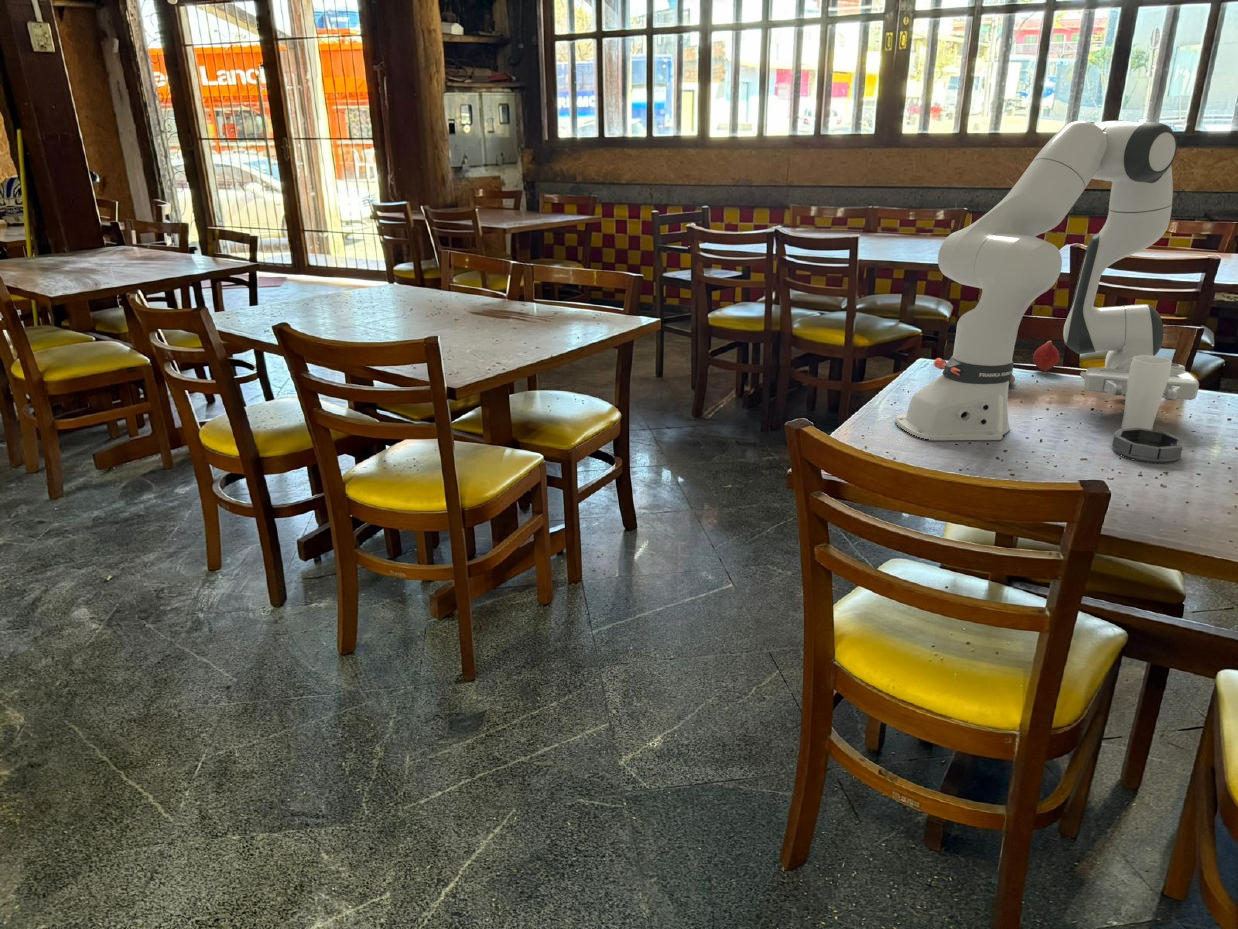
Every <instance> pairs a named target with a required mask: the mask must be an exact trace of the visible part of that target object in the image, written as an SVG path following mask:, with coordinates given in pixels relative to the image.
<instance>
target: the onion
mask: <svg viewBox="0 0 1238 929" xmlns="http://www.w3.org/2000/svg"><path fill="white" fill-rule="evenodd" d="M1032 360H1033V363H1034V365H1035V366H1036V367H1037V368H1038V369H1039V370H1040V371H1041V372H1043V371H1045V372H1048V371H1050V370H1051V369H1052V368H1054V367H1055V366H1056V365H1058V363H1059V361H1060V353H1059V350H1058V349H1057V348H1056V346H1055V345H1053V341H1052V340H1047V341H1046V342H1045V343H1044V344H1042V345H1041V346H1039V347H1038V348H1037V349H1036V350H1035V351H1034V353H1033V358H1032Z"/></svg>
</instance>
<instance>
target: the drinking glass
mask: <svg viewBox="0 0 1238 929" xmlns="http://www.w3.org/2000/svg"><path fill="white" fill-rule="evenodd" d="M1172 363H1173V361H1172V360H1171V359H1169V358H1166V357H1163V356H1160V355H1159V356H1157V355H1155V356H1150V355H1139V356H1134V357H1133V359H1132V362H1131V366H1130V370H1129V375H1128V382H1127V391H1126V397H1125V401H1124V409H1123V416H1122V421H1121V429H1129V428H1143V429H1149V430H1153V428H1154V424H1155V421H1156V417H1157V414H1158V412H1159V409H1160V405H1161V402H1162V400H1163V398H1162V397H1163V394H1164V391H1165V388H1166V385H1167V382H1168V379H1169V375H1170V370H1171V364H1172Z"/></svg>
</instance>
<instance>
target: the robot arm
mask: <svg viewBox="0 0 1238 929" xmlns="http://www.w3.org/2000/svg"><path fill="white" fill-rule="evenodd" d="M1177 151H1178V140H1177V137H1176V134H1175V133H1174V131H1173V129H1172V127H1171V126H1169V125H1168V124H1165V123H1161V122H1156V121H1146V122H1143V121H1134V120H1133V121H1129V120H1120V119H1119V120H1105V121H1098V122H1093V121H1087V120H1075V121H1072V122H1069V123H1067V124H1065V125H1064V126H1062V128H1061V129H1060V130H1058V131H1057V132H1056V133H1055V134H1054V135H1053V136H1052V137H1051V138H1050V139H1049V140H1048V141H1047V142H1046V144H1045V145H1044V146H1043V147H1042V148H1041V150H1040V151H1039V152H1038V153H1037V154H1036V156H1035V157H1034V159H1033V160H1032V161H1031V162H1030V164H1029V165H1028V166H1027V168H1026V169H1025V171H1024V172H1023V174H1022V175H1021V176H1020V178H1019V179H1018V181H1016V183H1015V184H1014V186H1013V187H1012V188H1011V189H1010V191H1008V193H1007V194H1006V195H1005V197H1003V199H1002V200H1000V201H999V202H998V203H997V204H996V205H995V206H993V208H992V209H990V210H989V211H988V212H987V213H985V214H984V215H982V216H981V217H980V218H979V219H977V220H976V221H975V222H973V223H971V224H970V225H968V226H966V227H964V228H962V229H960V230H957V231H954V232H952V233H950V234H949V235H948V236H947V237H946V238H945V239H944V240H943V241H942V243H941V246H940V247H939V250H938V254H937V264H938V268H939V271H940V272H941V274H943V275H944V277H947V278H948V279H950V280H952V281H953V282H956V283H958V284H959V285H964V286H968V287H972V288H978V289H982V291H981V295H980V298H979V301H978V302H977V305H976V306H975V308H973V309H971V310H968V311H967V312H965V313H964V314H962V315H961V316H960V317H959V319H958V321H957V323H956V332H955V336H954V337H955V339H954V346H953V354H952V356H951V355H950V358H949V360H948V361H947V360H944V359H942V358H940V357H937V358H935V360H933V366H934V368H937V369H939V370H942V374H941V375H939V376H938V377H937V378H935V379H934V380H933V381H932V382H929V383H928V384H927V385H925V386H924V387H923V388H921V389H920V390H918V391H916V392H915V393H914V394H913V395H912V397H911V398H910V401H909V404H908V409H907V412H906V413H903V414H898V415H896V417H895V420H894V422H895V421H896V423H897V424H896V423H895V424H896V426H897V425H899V426H900V427H901V428H903V429H904V430H905V431H908V432H909V433H910V434H909V433H908V434H909V435H911V434H912V435H911V436H913V435H916V436H917V437H916V436H915V437H916V438H918V437H920V438H919V439H921V438H925V439H929V440H928V441H1000V440H1002V439H1003V437H1004V436H1003V435H1005V434H1007V433H1008V432H1009V431H1010V423H1009V412H1008V411H1009V409H1008V405H1009V404H1008V400H1009V399H1008V398H1009V385H1010V384H1011V383H1010V381H1011V378H1012V375H1013V371H1014V360H1013V356H1014V351H1015V345H1016V342H1017V338H1016V336H1017V337H1018V330H1019V328H1020V327H1019V326H1020V324H1021V321H1022V320H1023V316H1024V315H1025V313H1026V311H1027V310H1028V308H1030V305H1031V304H1032V303H1034V300H1036V299H1037V298H1039V297H1040V296H1041V295H1044V293H1046V292H1048V291H1049V290H1050V289H1051V288H1053V286H1054V285H1055V283H1056V282H1057V281H1058V279H1059V277H1060V275H1061V272H1062V265H1063V260H1062V254H1061V251H1060V250H1059V248H1058V247H1057V246H1056V245H1055V244H1053V243H1051V242H1049V241H1046V240H1044V239H1042V238H1038V237H1037V236H1039V235H1041V234H1044V233H1047V232H1050V231H1052V229H1055V228H1056V227H1057V226H1058V225H1060V224H1061V223H1062V222H1063V220H1064V219H1065V218H1066V216H1067V215H1068V213H1069V212H1070V210H1072V207H1074V205H1075V204H1076V202H1077V201H1078V199H1079V198H1080V197H1081V195H1082V193H1083V192H1084V191H1085V189H1086V188H1087V186H1088V185H1089V183H1090V182H1091V180H1092V179H1093V180H1098V181H1099V180H1100V181H1105V182H1111V189H1110V196H1109V205H1108V215H1107V217H1106V221H1105V223H1104V224H1103V226H1102V228H1101V229H1100V230H1099V232H1097V233H1096V234H1094V235H1092V236H1091V237H1090V238H1089V242H1088V244H1086V245H1087V246H1086V249H1085V252H1084V255H1083V258H1082V262H1081V266H1080V270H1079V275H1078V278H1077V281H1076V282H1077V283H1076V286H1075V290H1074V294H1073V299H1072V301H1071V302H1072V303H1071V305H1070V309H1069V313H1068V315H1067V317H1066V320H1065V323H1064V325H1063V331H1062V332H1063V341H1064V345H1065V346H1066V347H1067V348H1068V349H1070V350H1071V351H1073V352H1074V353H1076V354H1077V355H1083V354H1084V355H1085V354H1092V353H1096V352H1107V354H1106V356H1105V361H1104V367H1096V366H1095V367H1088V368H1087V369H1086V371H1083V370H1082V371H1081V372H1080V373H1079V376H1080V377H1081V378H1082V379H1084V380H1083V386H1082V388H1083V390H1085V391H1088V392H1094V393H1095V392H1097V393H1105V394H1107V393H1109V394H1110V393H1111V395H1112V396H1122V397H1125V398H1126V391H1127V382H1128V375H1129V370H1130V366H1131V362H1132V359H1133V357H1134V356H1139V355H1150V356H1157V355H1158V353H1159V352H1160V350H1161V348H1162V346H1163V341H1164V325H1163V320H1162V317H1161V315H1160V313H1159V312H1158V311H1157V310H1156V308H1154V307H1153V306H1152V305H1151V304H1148V303H1146V304H1130V305H1129V304H1128V305H1125V304H1124V305H1119V306H1118V305H1115V306H1104V307H1103V306H1102V307H1100V306H1099V307H1096V306H1094V304H1095V300H1096V296H1097V292H1098V289H1099V285H1100V280H1101V277H1102V275H1103V273H1104V271H1105V270H1107V268H1108V267H1110V266H1112V265H1113V264H1114V263H1116V262H1118V261H1120V260H1122V259H1125V258H1127V257H1129V256H1131V255H1135V254H1136V253H1140V252H1142V251H1144V250H1146V249H1148V248H1149V247H1151V246H1153V245H1154V244H1155V243H1157V242H1158V241H1160V239H1161V238H1162V237H1163V236H1164V234H1165V233H1166V231H1167V230H1168V229H1169V225H1170V221H1171V215H1172V208H1173V197H1174V195H1173V194H1174V190H1173V189H1174V183H1173V182H1174V181H1173V168H1172V164H1173V162H1174V160H1175V157H1176V155H1177ZM1015 341H1016V342H1015ZM1199 387H1200V382H1199V381H1198V379H1197V378H1196V377H1195V376H1194V375H1193V374H1192V373H1190V372H1189V371H1186V367H1185V366H1184V365H1183V364H1177V363H1173V362H1172V364H1171V370H1170V375H1169V379H1168V382H1167V385H1166V388H1165V391H1164V394H1163V397H1162V399H1165V400H1167V401H1175V400H1176V399H1177V400H1186V401H1187V400H1188V401H1192V400H1196V397H1197V395H1198V392H1199ZM899 426H898V427H899ZM900 427H899V428H900ZM901 428H900V429H901ZM904 430H903V431H904ZM925 439H924V440H925ZM930 439H931V440H930Z"/></svg>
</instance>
